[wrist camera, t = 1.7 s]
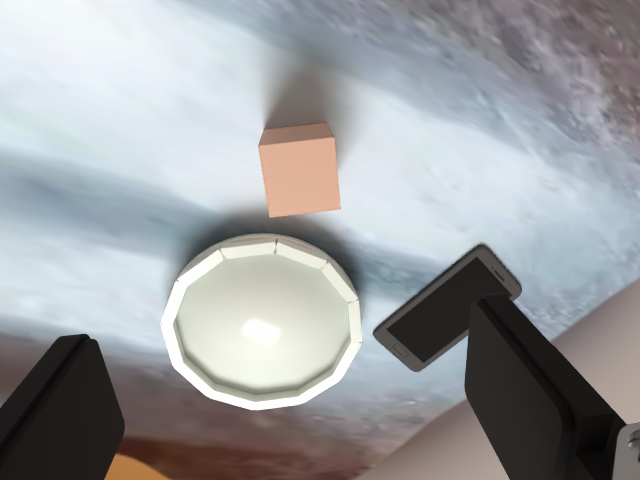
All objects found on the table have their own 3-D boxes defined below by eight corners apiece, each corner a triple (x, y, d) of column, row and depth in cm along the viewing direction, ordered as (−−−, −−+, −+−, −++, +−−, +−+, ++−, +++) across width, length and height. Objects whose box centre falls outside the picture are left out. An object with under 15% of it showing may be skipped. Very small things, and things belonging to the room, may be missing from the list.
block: (325, 122, 34) (334, 137, 28) (331, 182, 36) (340, 209, 30) (263, 129, 34) (258, 146, 28) (272, 189, 36) (269, 217, 30)
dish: (351, 219, 38) (356, 230, 35) (363, 379, 45) (368, 397, 42) (147, 243, 37) (137, 256, 35) (192, 401, 44) (186, 420, 42)
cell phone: (368, 331, 43) (370, 335, 42) (480, 240, 40) (483, 243, 39) (414, 370, 45) (415, 375, 45) (522, 287, 42) (526, 291, 42)
